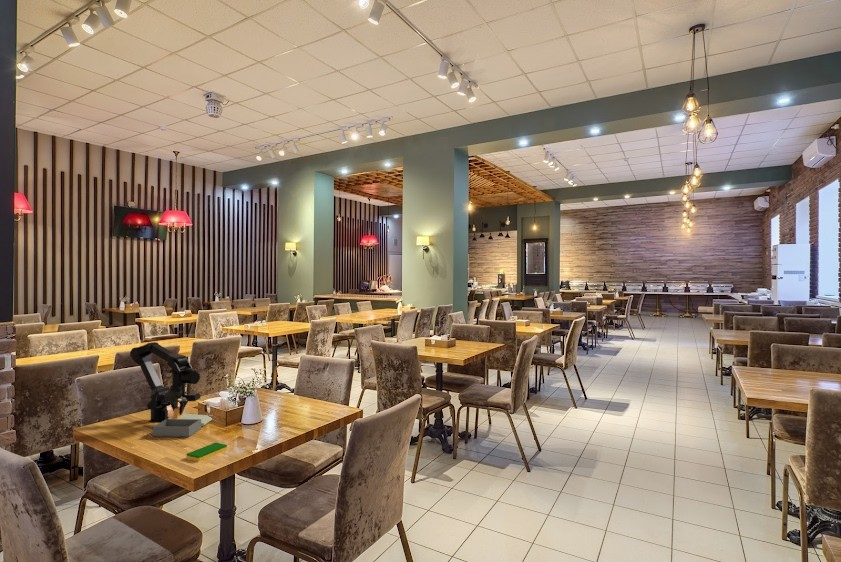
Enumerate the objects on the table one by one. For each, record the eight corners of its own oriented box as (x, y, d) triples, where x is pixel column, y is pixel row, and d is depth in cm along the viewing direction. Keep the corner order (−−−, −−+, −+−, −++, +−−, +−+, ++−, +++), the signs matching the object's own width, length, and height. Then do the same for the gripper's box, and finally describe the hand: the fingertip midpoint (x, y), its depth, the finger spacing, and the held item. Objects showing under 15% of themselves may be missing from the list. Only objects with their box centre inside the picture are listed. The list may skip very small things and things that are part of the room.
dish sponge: (227, 450, 183) (227, 444, 183) (198, 463, 171) (198, 456, 171) (215, 448, 186) (215, 442, 186) (185, 459, 174) (185, 453, 174)
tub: (152, 437, 197) (152, 426, 197) (166, 428, 208) (166, 419, 208) (188, 437, 197) (188, 427, 197) (201, 429, 208) (201, 419, 208)
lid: (169, 424, 211) (170, 410, 211) (182, 416, 222) (183, 404, 222) (203, 427, 211) (204, 413, 211) (214, 419, 222) (216, 407, 222)
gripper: (149, 386, 209) (148, 419, 209) (189, 386, 209) (189, 420, 209) (163, 380, 220) (162, 412, 220) (201, 381, 220) (200, 412, 220)
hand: (178, 414), depth 217 cm, fingers closed on lid, 2 cm apart
